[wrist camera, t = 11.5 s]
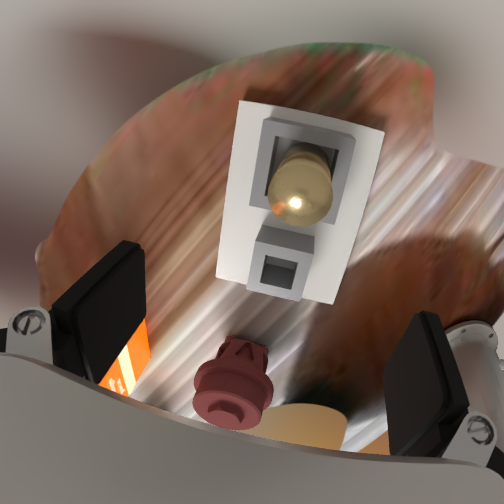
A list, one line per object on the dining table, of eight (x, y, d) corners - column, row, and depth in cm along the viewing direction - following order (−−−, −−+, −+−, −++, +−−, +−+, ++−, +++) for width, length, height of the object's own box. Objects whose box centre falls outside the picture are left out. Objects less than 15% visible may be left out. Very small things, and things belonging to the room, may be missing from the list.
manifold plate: (381, 130, 28) (394, 137, 24) (332, 297, 38) (333, 326, 33) (242, 100, 30) (228, 101, 25) (219, 270, 39) (205, 296, 35)
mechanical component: (201, 324, 44) (272, 319, 41) (223, 373, 48) (286, 371, 45) (169, 391, 33) (254, 393, 31) (200, 437, 37) (274, 441, 35)
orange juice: (145, 317, 46) (76, 421, 28) (151, 357, 50) (96, 454, 33) (102, 305, 47) (28, 395, 29) (111, 345, 51) (52, 431, 34)
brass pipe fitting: (333, 147, 29) (339, 172, 20) (323, 190, 31) (324, 232, 22) (287, 137, 29) (273, 158, 21) (279, 181, 31) (263, 218, 23)
